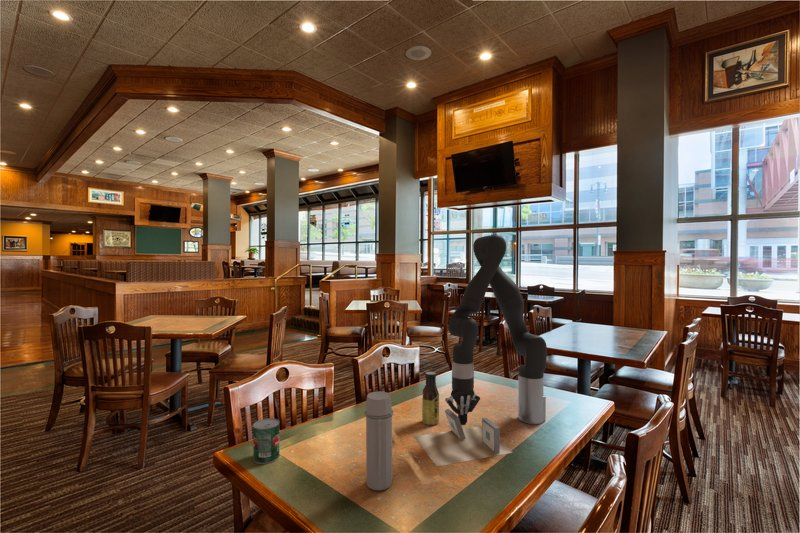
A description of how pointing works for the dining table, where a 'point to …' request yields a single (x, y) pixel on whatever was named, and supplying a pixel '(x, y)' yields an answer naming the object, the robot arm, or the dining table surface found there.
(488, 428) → the slate tile
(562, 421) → the dining table surface
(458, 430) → the slate tile
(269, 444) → the canned tomato
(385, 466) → the water bottle
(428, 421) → the sauce bottle
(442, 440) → the white flat sheet
